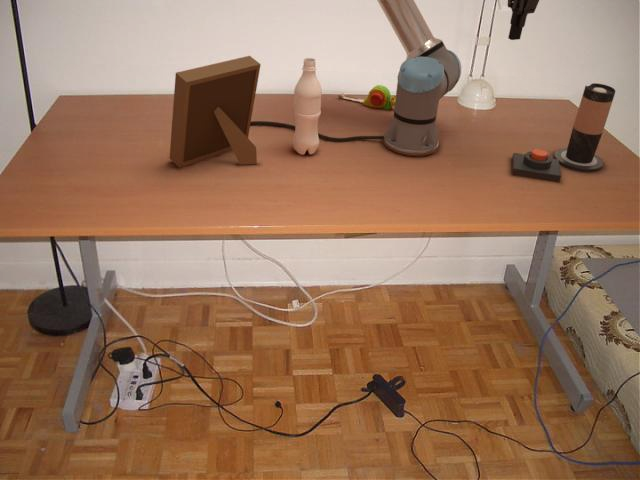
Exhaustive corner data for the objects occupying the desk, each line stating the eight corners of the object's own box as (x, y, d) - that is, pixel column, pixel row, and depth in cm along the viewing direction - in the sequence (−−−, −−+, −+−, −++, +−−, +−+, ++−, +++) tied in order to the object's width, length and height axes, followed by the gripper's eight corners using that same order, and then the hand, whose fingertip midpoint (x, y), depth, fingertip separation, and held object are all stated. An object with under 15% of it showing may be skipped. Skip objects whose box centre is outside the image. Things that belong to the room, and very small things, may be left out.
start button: (530, 160, 168) (532, 154, 167) (530, 154, 171) (531, 148, 170) (546, 162, 168) (547, 156, 167) (545, 156, 171) (547, 150, 170)
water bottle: (322, 149, 175) (328, 58, 161) (311, 159, 170) (316, 66, 156) (299, 143, 177) (303, 53, 164) (287, 152, 172) (290, 61, 158)
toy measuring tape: (392, 113, 199) (395, 93, 195) (335, 100, 205) (337, 80, 202) (399, 107, 204) (402, 87, 200) (343, 94, 210) (345, 75, 206)
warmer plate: (555, 168, 173) (556, 164, 173) (552, 148, 184) (553, 144, 183) (605, 175, 171) (606, 172, 171) (599, 155, 182) (600, 151, 181)
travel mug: (595, 165, 173) (618, 95, 162) (566, 161, 174) (587, 91, 163) (591, 153, 180) (613, 85, 169) (563, 150, 181) (583, 81, 170)
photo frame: (169, 161, 164) (162, 66, 150) (237, 139, 177) (235, 49, 163) (204, 183, 155) (199, 84, 141) (272, 158, 168) (273, 65, 155)
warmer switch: (512, 175, 168) (515, 161, 166) (511, 159, 177) (515, 145, 174) (559, 182, 166) (563, 168, 164) (556, 165, 175) (560, 152, 172)
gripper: (567, -56, 150) (542, 45, 163) (529, -65, 160) (508, 30, 173) (543, -55, 147) (519, 47, 160) (506, -65, 157) (486, 32, 170)
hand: (514, 38), depth 166 cm, fingers closed
